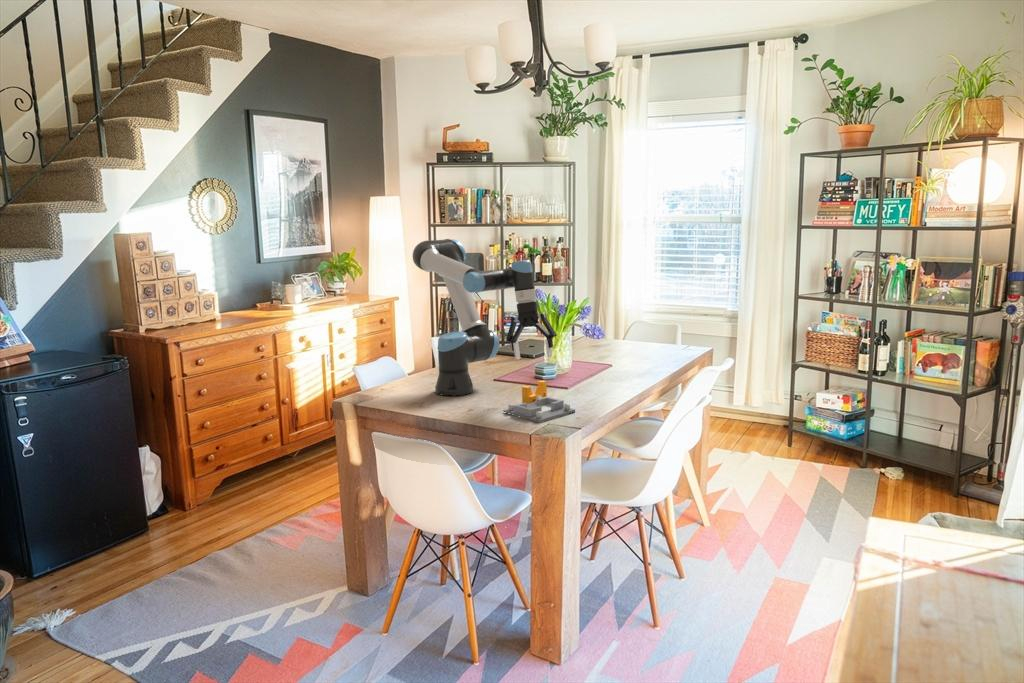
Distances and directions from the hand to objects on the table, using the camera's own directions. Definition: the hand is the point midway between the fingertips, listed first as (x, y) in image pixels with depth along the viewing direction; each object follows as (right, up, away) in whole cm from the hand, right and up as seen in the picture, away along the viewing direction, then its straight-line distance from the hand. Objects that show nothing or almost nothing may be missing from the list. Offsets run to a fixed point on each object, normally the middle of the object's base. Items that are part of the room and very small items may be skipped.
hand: (533, 358), depth 272 cm
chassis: (+1, -19, -14) cm, 24 cm away
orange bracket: (+1, -16, +2) cm, 16 cm away
